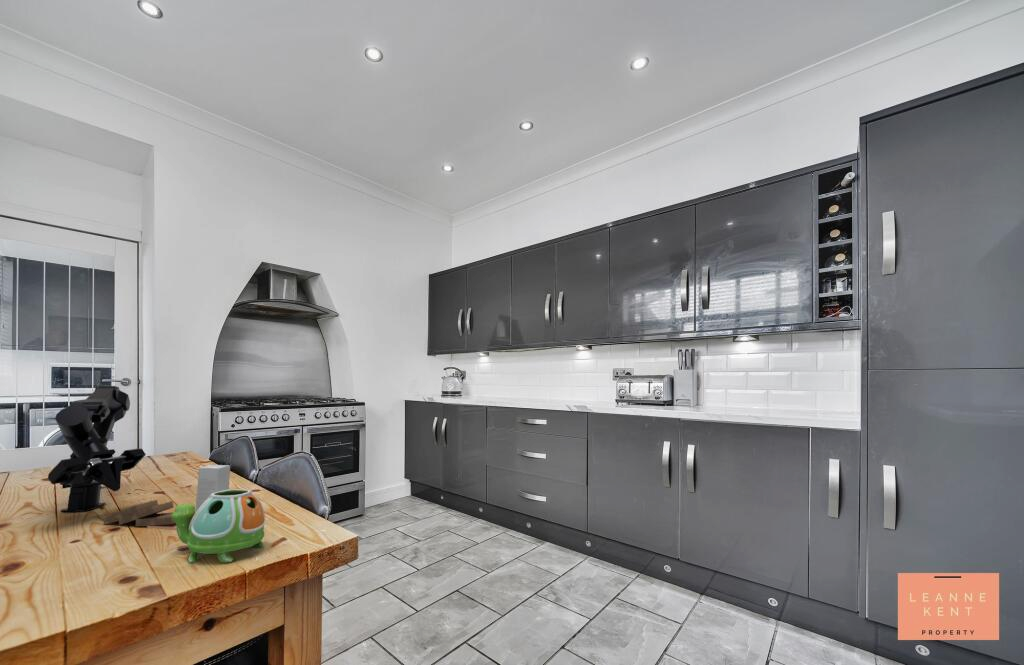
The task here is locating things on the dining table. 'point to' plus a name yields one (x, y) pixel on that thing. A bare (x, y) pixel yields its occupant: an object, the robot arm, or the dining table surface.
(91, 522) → the dining table surface
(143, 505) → the domino
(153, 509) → the domino
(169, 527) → the domino end
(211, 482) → the skincare box
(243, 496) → the turtle holder
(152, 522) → the domino
